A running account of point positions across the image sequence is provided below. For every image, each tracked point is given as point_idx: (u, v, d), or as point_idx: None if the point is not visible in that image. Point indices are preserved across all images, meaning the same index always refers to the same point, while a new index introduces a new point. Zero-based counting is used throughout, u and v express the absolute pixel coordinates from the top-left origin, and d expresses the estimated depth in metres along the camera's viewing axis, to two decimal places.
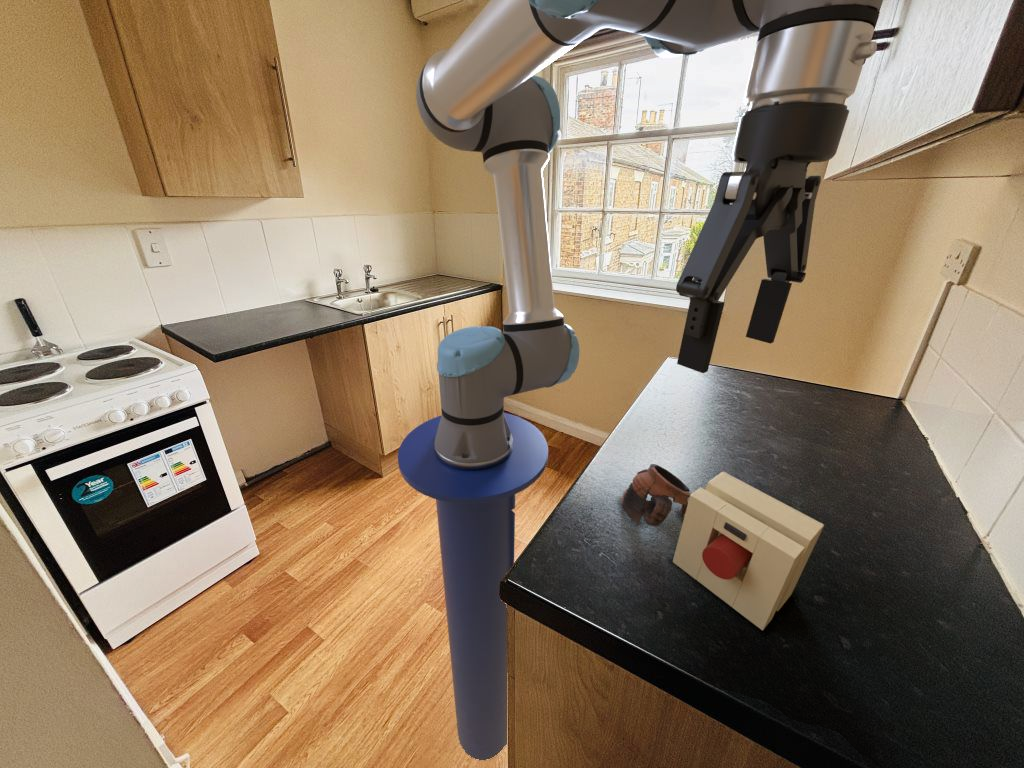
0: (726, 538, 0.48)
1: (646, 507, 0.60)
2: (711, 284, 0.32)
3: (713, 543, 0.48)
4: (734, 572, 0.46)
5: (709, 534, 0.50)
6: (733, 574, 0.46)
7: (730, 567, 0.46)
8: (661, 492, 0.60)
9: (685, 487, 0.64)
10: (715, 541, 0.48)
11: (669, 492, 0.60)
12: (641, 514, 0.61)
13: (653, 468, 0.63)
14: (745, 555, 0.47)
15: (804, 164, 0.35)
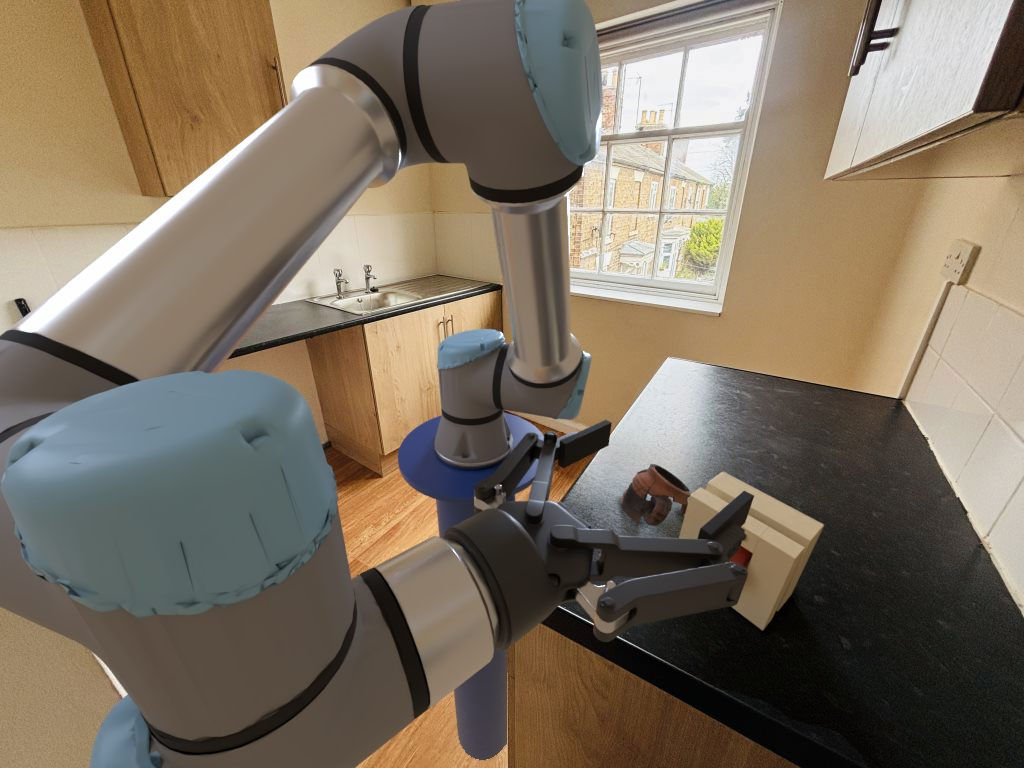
0: None
1: (646, 507, 0.60)
2: None
3: None
4: None
5: None
6: None
7: None
8: (661, 492, 0.60)
9: (685, 487, 0.64)
10: None
11: (669, 492, 0.60)
12: (641, 514, 0.61)
13: (653, 468, 0.63)
14: (745, 555, 0.47)
15: None
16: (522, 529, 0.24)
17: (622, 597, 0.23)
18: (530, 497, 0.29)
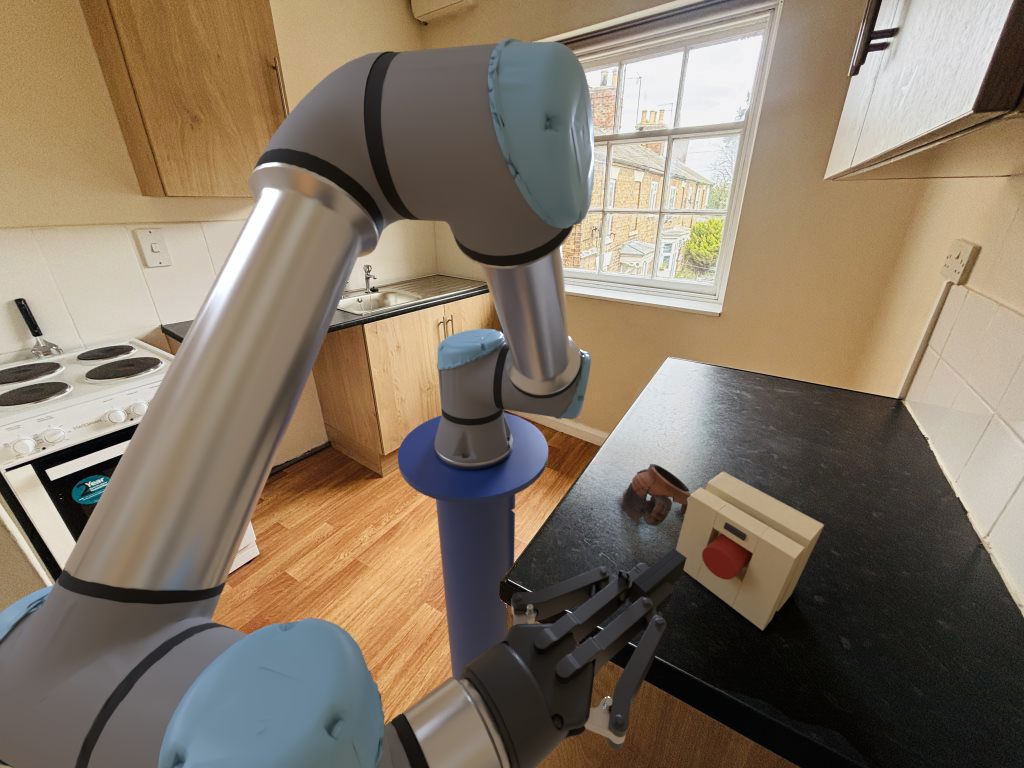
0: (726, 538, 0.48)
1: (646, 507, 0.60)
2: None
3: (713, 543, 0.48)
4: (734, 572, 0.46)
5: (709, 534, 0.50)
6: (733, 574, 0.46)
7: (730, 567, 0.46)
8: (661, 492, 0.60)
9: (685, 487, 0.64)
10: (715, 541, 0.48)
11: (669, 492, 0.60)
12: (641, 514, 0.61)
13: (653, 468, 0.63)
14: (745, 555, 0.47)
15: None
16: (531, 677, 0.28)
17: (622, 707, 0.28)
18: (551, 627, 0.33)
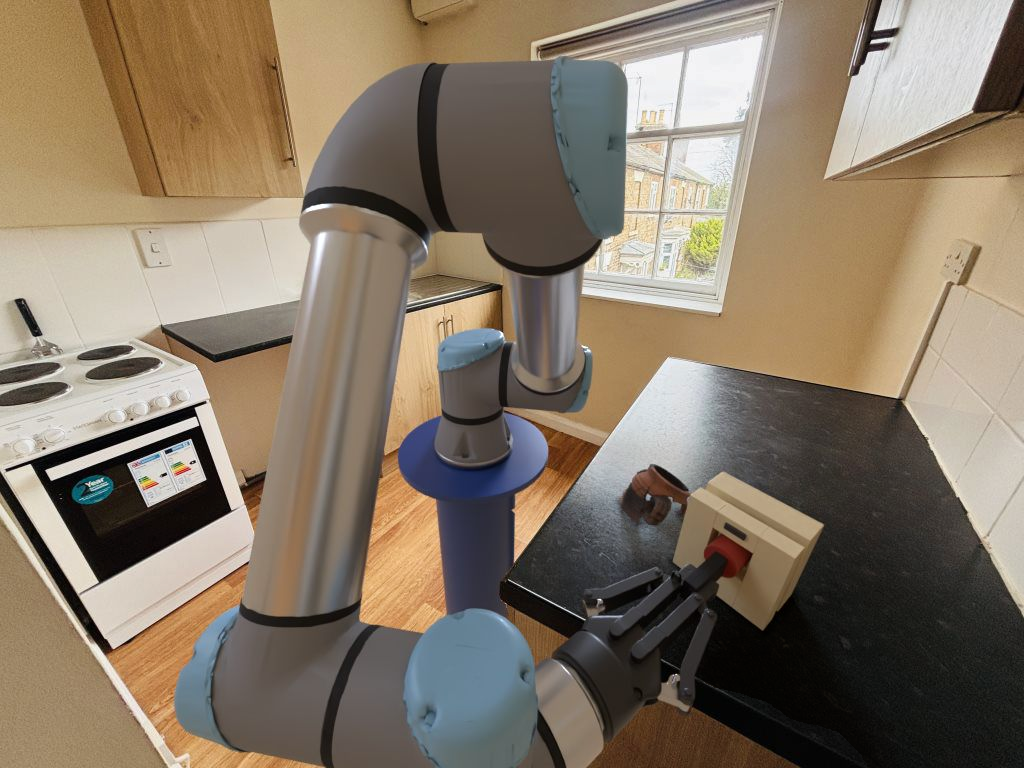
0: (727, 537, 0.48)
1: (646, 507, 0.60)
2: None
3: (714, 542, 0.48)
4: (736, 570, 0.46)
5: (709, 534, 0.50)
6: (734, 573, 0.46)
7: (732, 566, 0.46)
8: (660, 492, 0.60)
9: (684, 487, 0.64)
10: (716, 540, 0.49)
11: (668, 492, 0.60)
12: (640, 514, 0.61)
13: (652, 468, 0.63)
14: (747, 554, 0.47)
15: None
16: (615, 657, 0.34)
17: (688, 682, 0.35)
18: (621, 618, 0.39)
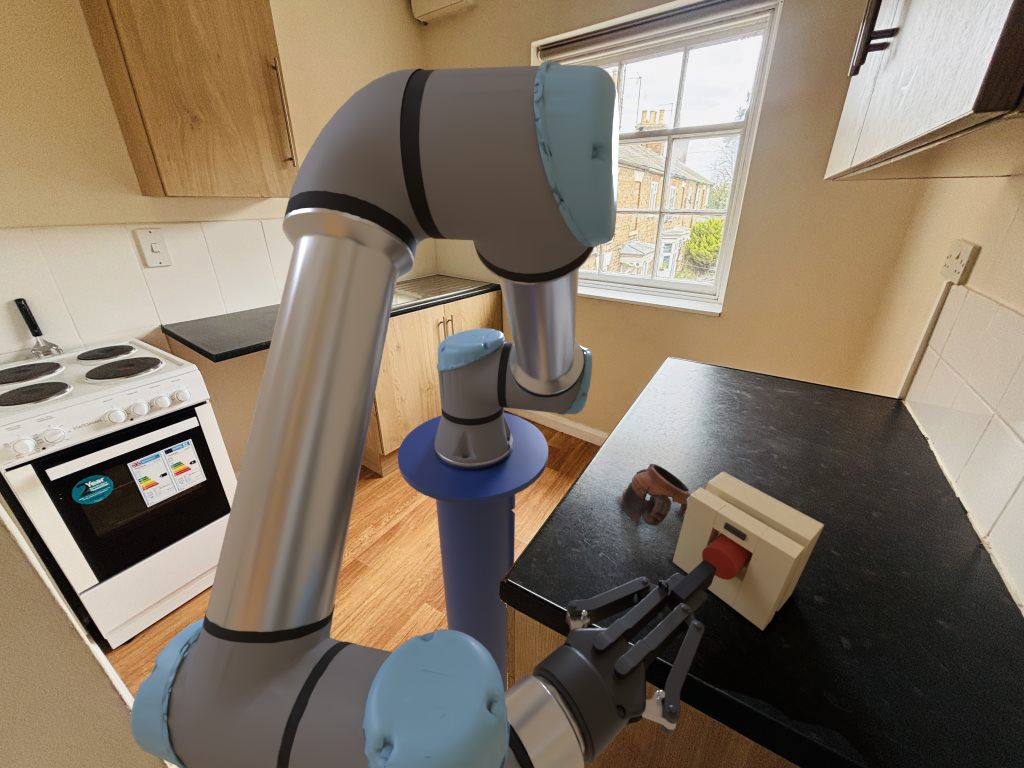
0: (726, 538, 0.48)
1: (646, 507, 0.60)
2: None
3: (713, 543, 0.48)
4: (734, 572, 0.46)
5: (709, 534, 0.50)
6: (733, 574, 0.46)
7: (730, 567, 0.46)
8: (660, 492, 0.60)
9: (684, 487, 0.64)
10: (715, 541, 0.48)
11: (668, 492, 0.60)
12: (640, 514, 0.61)
13: (652, 468, 0.63)
14: (745, 555, 0.47)
15: None
16: (597, 674, 0.33)
17: (674, 698, 0.34)
18: (606, 631, 0.38)
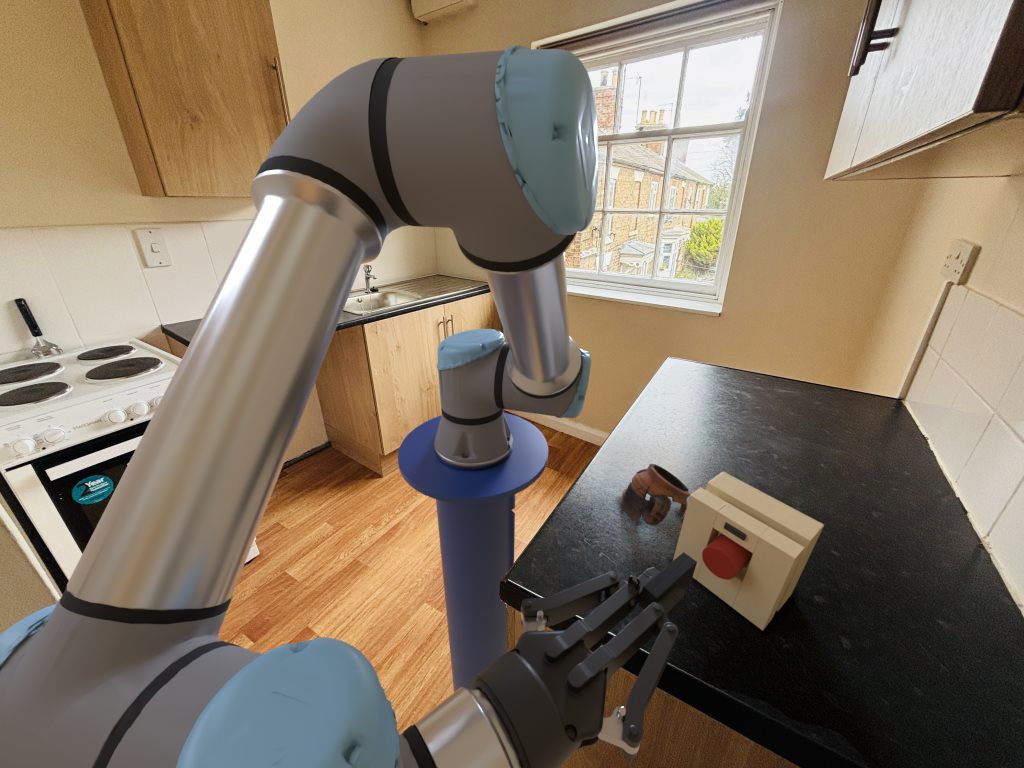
0: (726, 538, 0.48)
1: (645, 507, 0.60)
2: None
3: (713, 543, 0.48)
4: (734, 572, 0.46)
5: (709, 534, 0.50)
6: (733, 574, 0.46)
7: (730, 567, 0.46)
8: (660, 492, 0.60)
9: (684, 487, 0.64)
10: (715, 541, 0.48)
11: (668, 491, 0.60)
12: (640, 514, 0.61)
13: (652, 468, 0.63)
14: (745, 555, 0.47)
15: None
16: (543, 687, 0.27)
17: (636, 717, 0.28)
18: (562, 634, 0.33)
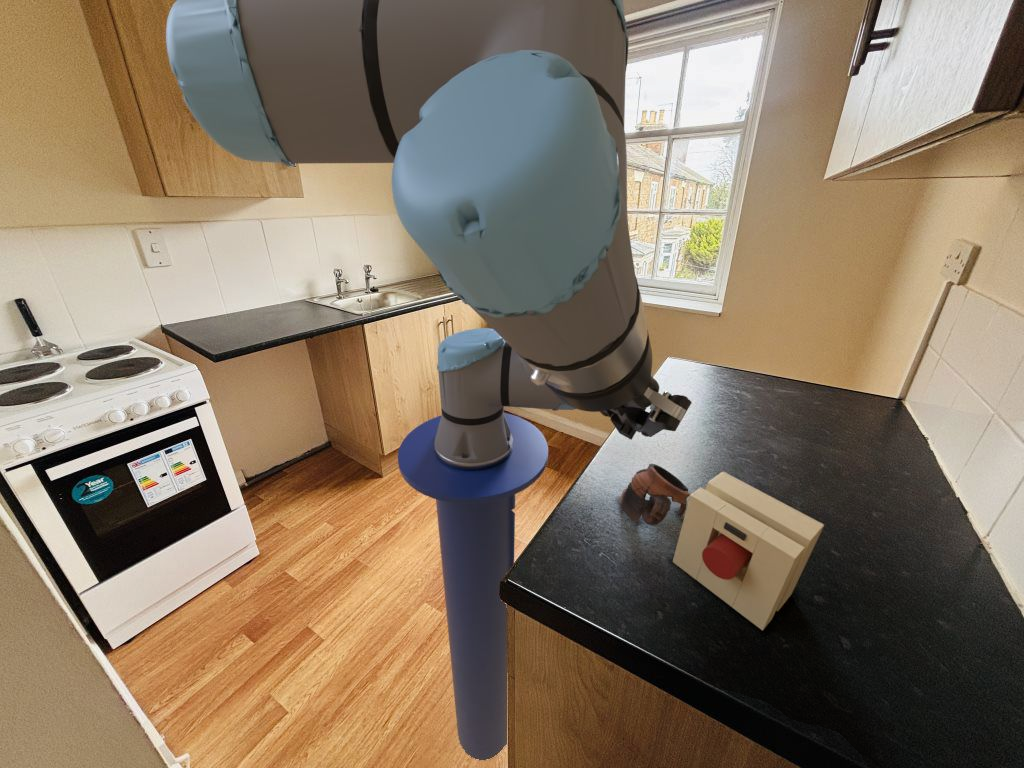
0: (726, 538, 0.48)
1: (645, 507, 0.60)
2: None
3: (713, 543, 0.48)
4: (734, 572, 0.46)
5: (709, 534, 0.50)
6: (733, 574, 0.46)
7: (730, 567, 0.46)
8: (660, 492, 0.60)
9: (684, 487, 0.64)
10: (715, 541, 0.48)
11: (668, 491, 0.60)
12: (640, 513, 0.61)
13: (652, 468, 0.63)
14: (745, 555, 0.47)
15: None
16: None
17: None
18: None
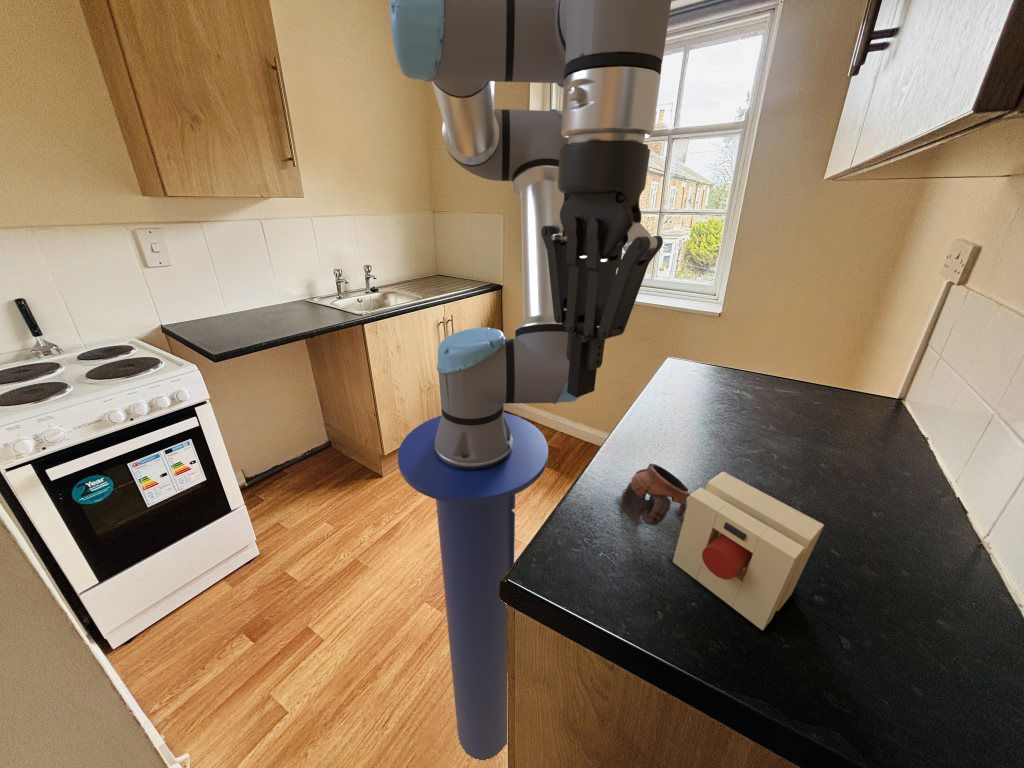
0: (726, 538, 0.48)
1: (645, 507, 0.60)
2: (558, 311, 0.42)
3: (713, 543, 0.48)
4: (734, 572, 0.46)
5: (709, 534, 0.50)
6: (733, 574, 0.46)
7: (730, 567, 0.46)
8: (660, 491, 0.60)
9: (684, 486, 0.64)
10: (715, 541, 0.48)
11: (668, 491, 0.60)
12: (640, 513, 0.61)
13: (652, 468, 0.63)
14: (745, 555, 0.47)
15: (611, 195, 0.33)
16: None
17: None
18: None
